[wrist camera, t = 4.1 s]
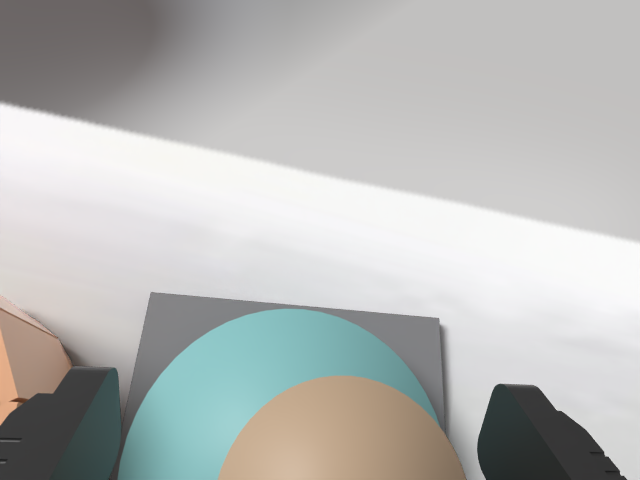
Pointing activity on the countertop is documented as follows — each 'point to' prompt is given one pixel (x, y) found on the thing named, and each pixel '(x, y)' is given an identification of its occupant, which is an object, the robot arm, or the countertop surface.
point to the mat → (209, 313)
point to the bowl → (27, 358)
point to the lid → (287, 408)
